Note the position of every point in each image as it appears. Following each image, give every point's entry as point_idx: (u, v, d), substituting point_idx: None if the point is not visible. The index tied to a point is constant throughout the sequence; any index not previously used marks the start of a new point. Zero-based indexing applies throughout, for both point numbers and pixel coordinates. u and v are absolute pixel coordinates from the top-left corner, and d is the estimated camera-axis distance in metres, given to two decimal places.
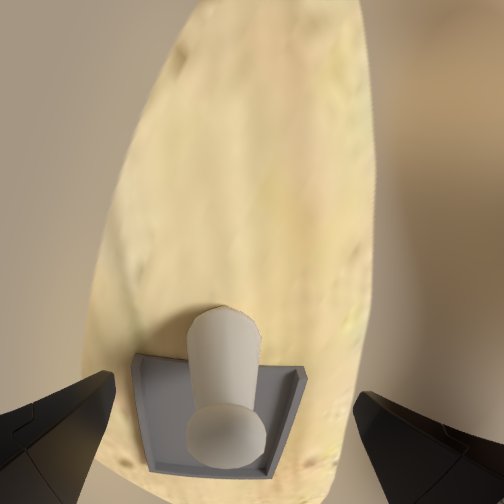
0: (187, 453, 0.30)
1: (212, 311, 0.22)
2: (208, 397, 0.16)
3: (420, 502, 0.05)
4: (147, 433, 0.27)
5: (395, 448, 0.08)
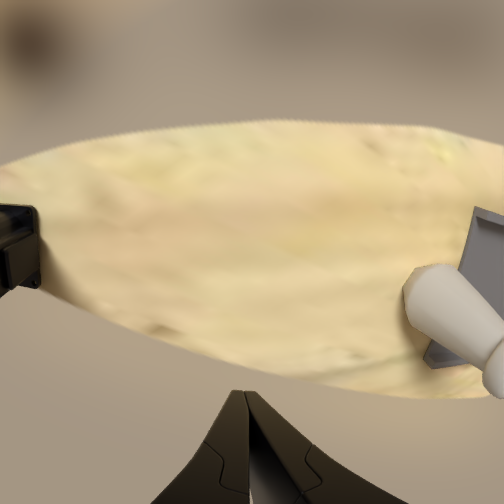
0: None
1: (407, 310, 0.21)
2: (477, 363, 0.14)
3: None
4: None
5: None
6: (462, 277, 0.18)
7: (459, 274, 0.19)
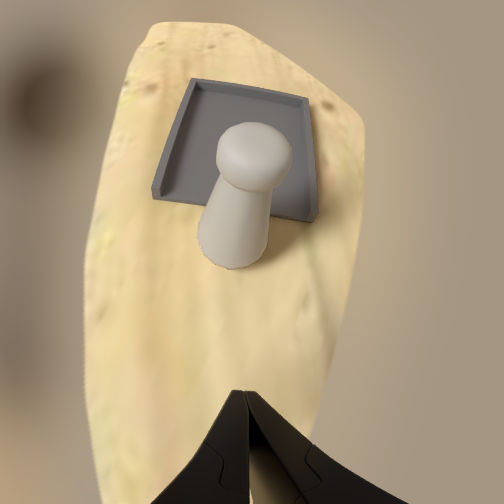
0: (269, 114, 0.36)
1: (242, 266, 0.24)
2: (263, 195, 0.18)
3: None
4: (306, 140, 0.33)
5: None
6: (202, 215, 0.23)
7: (201, 218, 0.24)
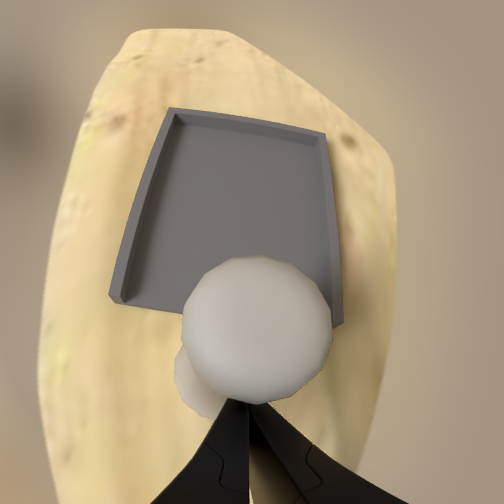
0: (274, 159, 0.28)
1: None
2: None
3: None
4: (326, 203, 0.25)
5: None
6: (178, 357, 0.15)
7: (177, 359, 0.15)
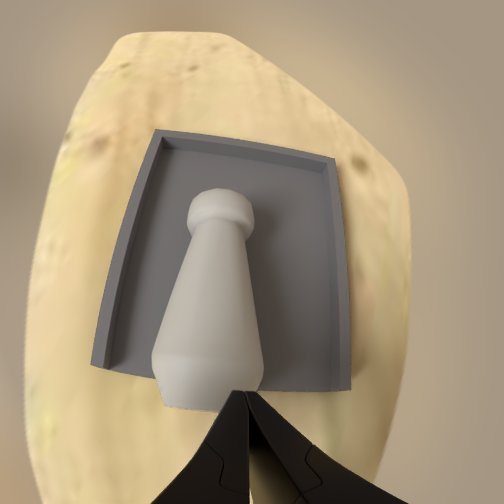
0: (276, 191, 0.24)
1: (212, 357, 0.13)
2: (229, 232, 0.18)
3: None
4: (336, 248, 0.21)
5: None
6: None
7: None
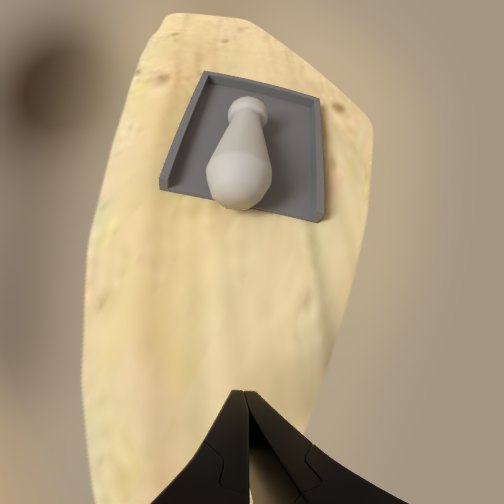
0: (280, 112, 0.36)
1: (249, 153, 0.24)
2: (255, 116, 0.29)
3: None
4: (316, 141, 0.33)
5: None
6: None
7: None
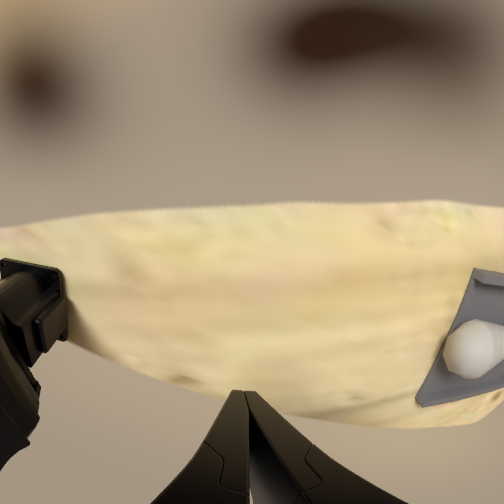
0: None
1: (488, 368, 0.20)
2: None
3: None
4: (477, 391, 0.27)
5: None
6: (485, 321, 0.23)
7: (483, 321, 0.23)
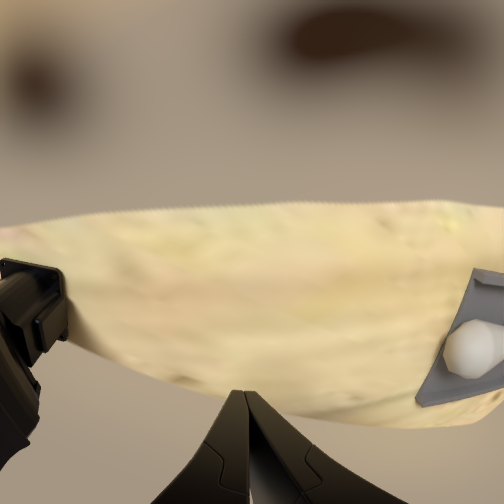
0: None
1: (488, 368, 0.20)
2: None
3: None
4: (477, 391, 0.27)
5: None
6: (485, 321, 0.23)
7: (483, 321, 0.23)
